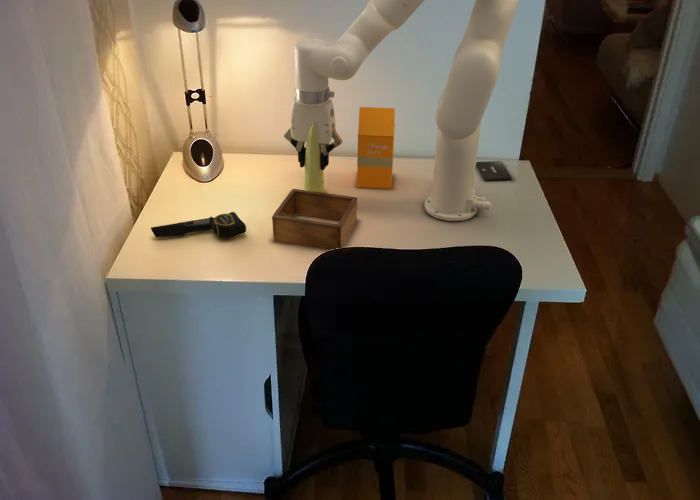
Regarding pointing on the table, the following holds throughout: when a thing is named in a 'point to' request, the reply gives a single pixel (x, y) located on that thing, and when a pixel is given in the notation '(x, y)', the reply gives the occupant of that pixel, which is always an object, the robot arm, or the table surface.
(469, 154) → the robot arm
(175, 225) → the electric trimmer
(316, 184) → the bamboo shoot
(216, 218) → the tape measure
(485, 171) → the solid state drive
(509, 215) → the table surface
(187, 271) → the table surface
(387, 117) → the orange juice
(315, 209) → the wooden box
